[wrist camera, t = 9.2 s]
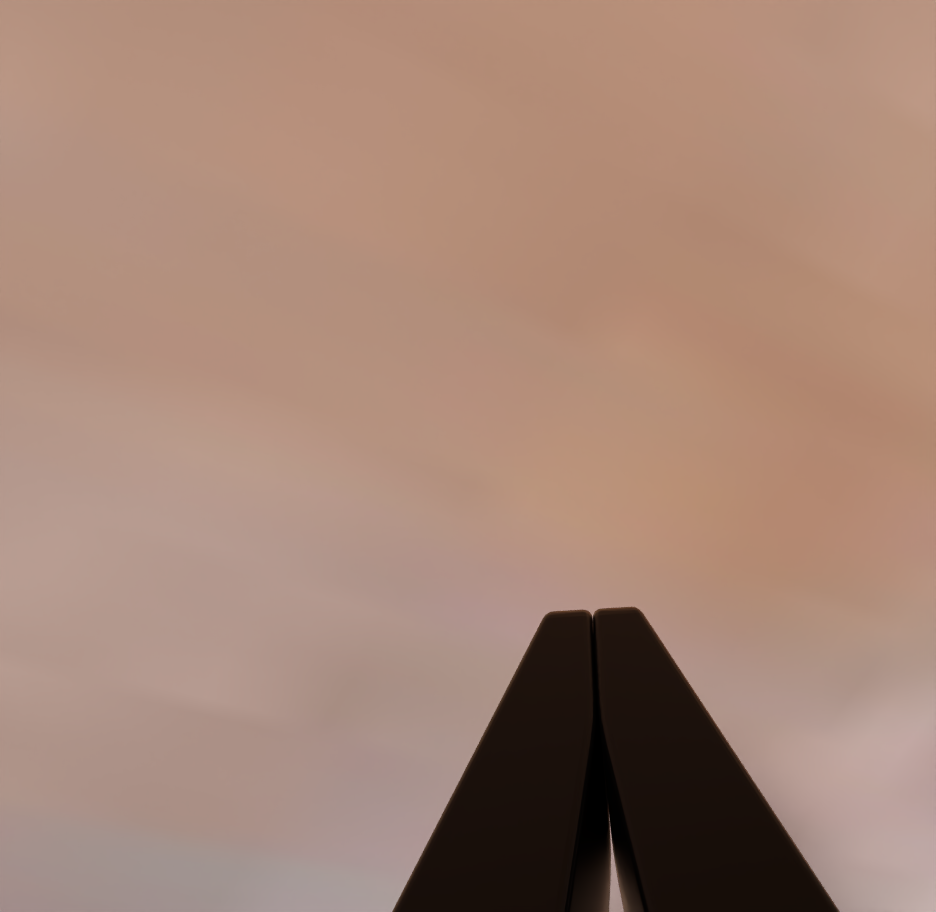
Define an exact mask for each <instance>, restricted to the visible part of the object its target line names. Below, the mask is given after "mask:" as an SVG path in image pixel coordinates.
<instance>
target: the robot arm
mask: <svg viewBox="0 0 936 912" xmlns="http://www.w3.org/2000/svg"><path fill="white" fill-rule="evenodd" d="M609 817H610V821H609ZM610 826H611V835H612V844H613V853H614V859H615V865H616V871H617V877H618V883H619V888H620V893H621V898H622V904H623V909H624V912H839V910H838V908H837V907H836V905H835V904H834V902H833V901H832V899H831V898H830V896H829V895H828V893H827V892H826V890H825V889H824V887H823V886H822V884H821V883H820V881H819V880H818V878H817V877H816V875H815V874H814V872H813V871H812V869H811V868H810V866H809V864H808V863H807V861H806V860H805V858H804V857H803V855H802V854H801V852H800V851H799V849H798V848H797V846H796V845H795V843H794V842H793V840H792V839H791V837H790V836H789V834H788V833H787V831H786V830H785V828H784V827H783V825H782V824H781V822H780V820H779V819H778V817H777V816H776V814H775V813H774V811H773V810H772V808H771V807H770V805H769V804H768V802H767V801H766V799H765V798H764V796H763V795H762V793H761V792H760V790H759V789H758V787H757V786H756V784H755V783H754V781H753V780H752V778H751V776H750V775H749V773H748V772H747V770H746V769H745V767H744V766H743V764H742V763H741V761H740V760H739V758H738V757H737V755H736V754H735V752H734V751H733V749H732V748H731V746H730V745H729V743H728V742H727V740H726V739H725V737H724V736H723V734H722V732H721V731H720V729H719V728H718V726H717V725H716V723H715V722H714V720H713V719H712V717H711V716H710V714H709V713H708V711H707V710H706V708H705V707H704V705H703V704H702V702H701V701H700V699H699V698H698V696H697V695H696V693H695V692H694V690H693V688H692V687H691V685H690V684H689V682H688V681H687V679H686V678H685V676H684V675H683V673H682V672H681V670H680V669H679V667H678V666H677V664H676V663H675V661H674V660H673V658H672V657H671V655H670V654H669V652H668V651H667V649H666V647H665V646H664V644H663V643H662V641H661V640H660V638H659V637H658V635H657V634H656V632H655V631H654V629H653V628H652V626H651V625H650V623H649V622H648V620H647V619H646V617H645V616H644V614H643V613H642V612H641V611H640V610H639V609H638V608H635V607H621V608H604V609H598V610H597V611H595V613H594V615H593V618H592V615H591V614H590V612H589V611H587V610H570V611H553V612H549V613H548V614H546V615H545V617H544V618H543V620H542V621H541V623H540V625H539V627H538V629H537V631H536V633H535V635H534V637H533V639H532V641H531V643H530V645H529V647H528V648H527V650H526V652H525V654H524V656H523V658H522V660H521V662H520V664H519V666H518V668H517V670H516V672H515V674H514V676H513V678H512V680H511V682H510V684H509V685H508V687H507V689H506V691H505V693H504V695H503V697H502V699H501V701H500V703H499V705H498V707H497V709H496V711H495V713H494V715H493V717H492V719H491V721H490V722H489V724H488V726H487V728H486V730H485V732H484V734H483V736H482V738H481V740H480V742H479V744H478V746H477V748H476V750H475V752H474V754H473V756H472V757H471V759H470V761H469V763H468V765H467V767H466V769H465V771H464V773H463V775H462V777H461V779H460V781H459V783H458V785H457V787H456V789H455V791H454V793H453V794H452V796H451V798H450V800H449V802H448V804H447V806H446V808H445V810H444V812H443V814H442V816H441V818H440V820H439V822H438V824H437V826H436V828H435V830H434V831H433V833H432V835H431V837H430V839H429V841H428V843H427V845H426V847H425V849H424V851H423V853H422V855H421V857H420V859H419V861H418V863H417V865H416V866H415V868H414V870H413V872H412V874H411V876H410V878H409V880H408V882H407V884H406V886H405V888H404V890H403V892H402V894H401V896H400V898H399V900H398V902H397V903H396V905H395V907H394V909H393V911H392V912H609V901H610V878H611V842H610Z"/></svg>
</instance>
